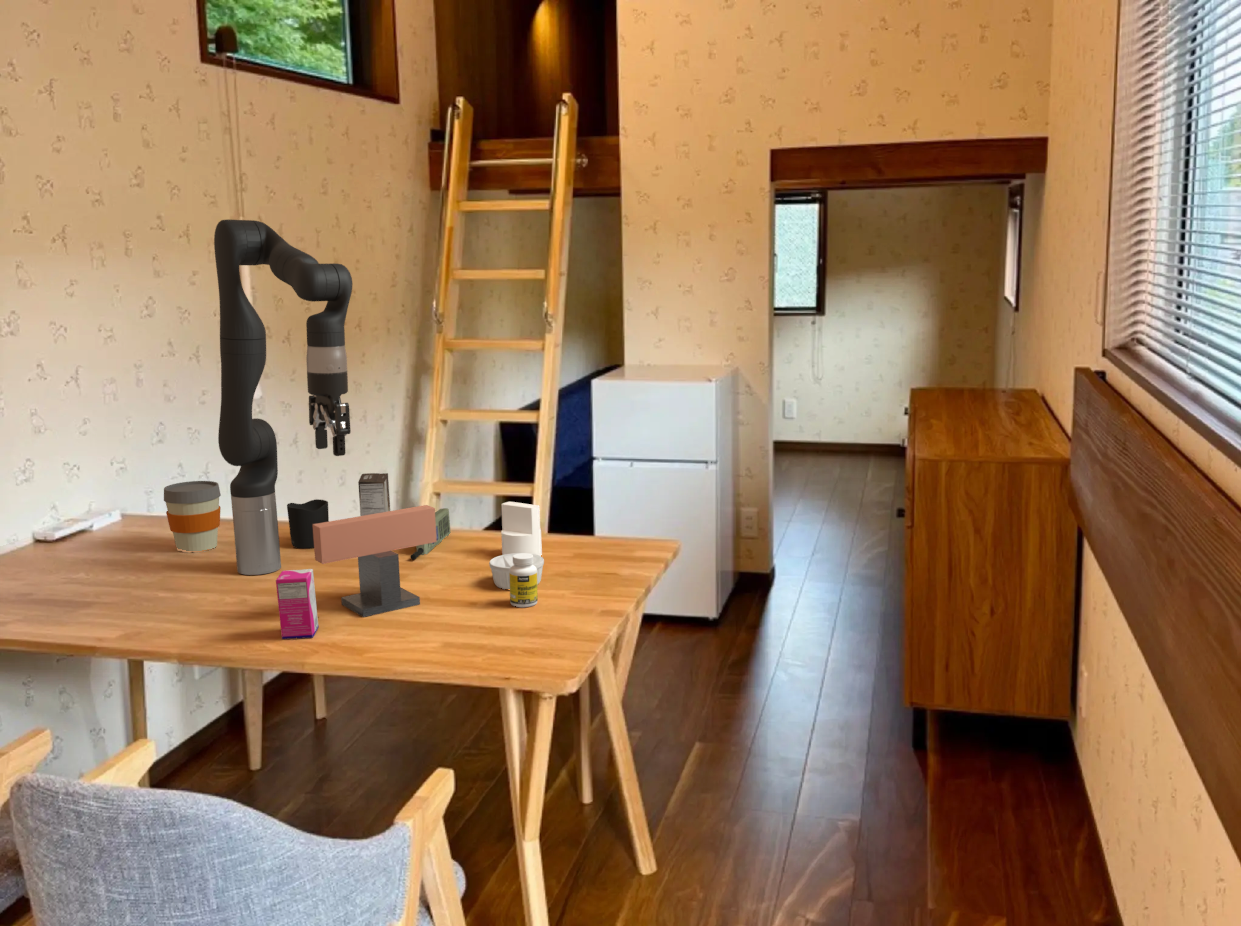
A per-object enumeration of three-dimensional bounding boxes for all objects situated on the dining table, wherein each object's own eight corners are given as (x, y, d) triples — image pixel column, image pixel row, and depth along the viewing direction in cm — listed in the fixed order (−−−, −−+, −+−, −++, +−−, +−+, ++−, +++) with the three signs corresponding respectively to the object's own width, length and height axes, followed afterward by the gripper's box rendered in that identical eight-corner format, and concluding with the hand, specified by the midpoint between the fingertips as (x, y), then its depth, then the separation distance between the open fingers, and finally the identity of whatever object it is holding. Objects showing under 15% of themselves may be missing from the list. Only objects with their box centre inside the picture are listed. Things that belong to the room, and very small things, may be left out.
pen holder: (300, 539, 268) (297, 499, 266) (337, 539, 267) (334, 499, 265) (283, 549, 259) (280, 508, 257) (321, 550, 258) (318, 508, 256)
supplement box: (286, 628, 204) (282, 569, 202) (319, 627, 205) (315, 568, 203) (280, 639, 199) (275, 578, 196) (313, 638, 199) (308, 577, 197)
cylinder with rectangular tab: (549, 554, 251) (548, 503, 249) (526, 564, 244) (524, 511, 241) (518, 549, 256) (516, 498, 254) (494, 558, 248) (492, 506, 246)
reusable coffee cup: (213, 554, 255) (207, 491, 252) (159, 555, 256) (153, 492, 253) (232, 540, 268) (227, 480, 265) (181, 541, 268) (175, 480, 265)
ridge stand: (341, 604, 218) (338, 550, 216) (397, 592, 225) (394, 540, 223) (363, 617, 210) (359, 561, 208) (419, 604, 217) (417, 550, 215)
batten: (315, 560, 210) (312, 524, 208) (428, 538, 224) (426, 504, 222) (322, 563, 207) (319, 527, 205) (436, 541, 221) (434, 507, 220)
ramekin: (479, 585, 229) (478, 560, 228) (519, 573, 237) (518, 549, 236) (515, 596, 222) (514, 570, 221) (555, 583, 230) (554, 558, 229)
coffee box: (365, 538, 268) (361, 473, 265) (392, 537, 268) (388, 472, 265) (361, 548, 259) (357, 481, 256) (389, 546, 260) (385, 480, 256)
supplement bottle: (516, 609, 213) (514, 561, 211) (506, 602, 218) (504, 554, 216) (542, 605, 215) (540, 557, 213) (531, 597, 220) (529, 550, 218)
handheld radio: (453, 534, 271) (420, 562, 247) (440, 534, 272) (406, 563, 247) (450, 507, 270) (418, 533, 246) (437, 508, 270) (404, 534, 246)
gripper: (361, 371, 208) (364, 456, 211) (330, 364, 219) (333, 444, 222) (323, 374, 203) (326, 460, 207) (294, 366, 215) (297, 448, 218)
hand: (330, 451), depth 215 cm, fingers open, 8 cm apart
